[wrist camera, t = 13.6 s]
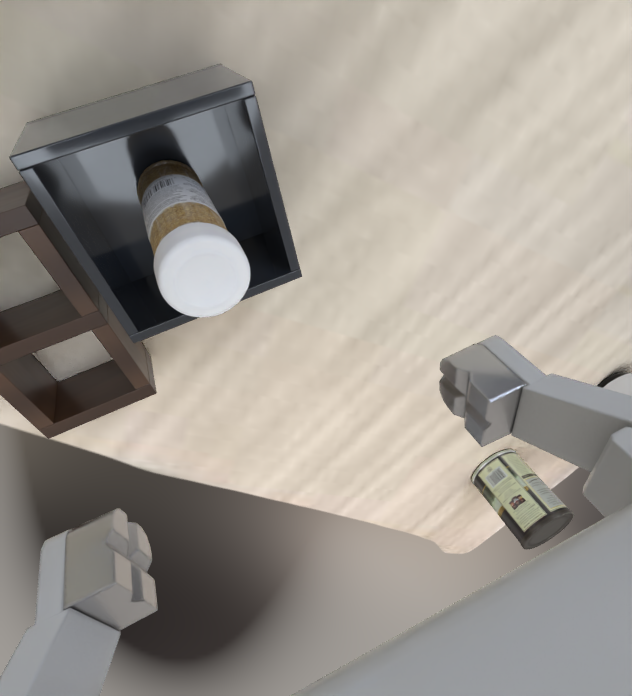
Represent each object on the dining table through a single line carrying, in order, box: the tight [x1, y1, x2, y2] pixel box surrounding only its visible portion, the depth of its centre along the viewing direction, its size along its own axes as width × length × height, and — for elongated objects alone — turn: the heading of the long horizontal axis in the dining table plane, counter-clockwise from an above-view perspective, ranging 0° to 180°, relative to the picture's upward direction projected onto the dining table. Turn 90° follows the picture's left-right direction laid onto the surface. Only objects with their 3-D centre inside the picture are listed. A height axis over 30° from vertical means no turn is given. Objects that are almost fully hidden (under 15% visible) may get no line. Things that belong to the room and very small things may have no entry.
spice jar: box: [137, 160, 250, 317], centre depth 26 cm, size 5×5×14 cm
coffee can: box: [472, 449, 574, 549], centre depth 78 cm, size 10×10×14 cm
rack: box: [0, 181, 156, 439], centre depth 31 cm, size 17×9×5 cm, turn 11°
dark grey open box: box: [9, 64, 302, 343], centre depth 28 cm, size 12×12×8 cm
